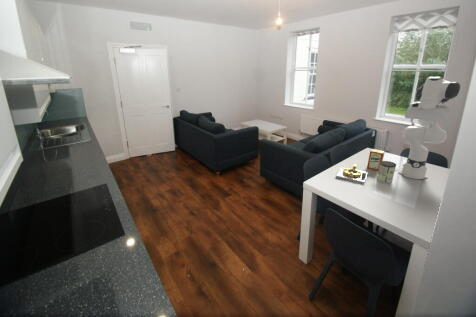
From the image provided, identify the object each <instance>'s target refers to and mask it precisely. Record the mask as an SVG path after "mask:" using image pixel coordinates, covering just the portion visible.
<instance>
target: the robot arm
mask: <svg viewBox="0 0 476 317" xmlns="http://www.w3.org/2000/svg"><path fill="white" fill-rule="evenodd" d="M460 91H461V84H460V83H459V82H457V81H448V80H446V79H445V78H444V77H441V76H429V77H427V78H426V80H425V82H424V83H423V84H422V85H421V86H420V87H419V88H417V89H416V91H415V93H414V98H415V101H413V102H410V104H409V107H408V108H407V110H406V112H405V114H404V118H405V119H410V123H411V125H410V126H407V127H405V128H404V130H403V132H402V137H403V138H404V140H406V142H408V145H409V154H408V157H407V158H406V162H405V163H402V167H401V168H400V169H399V170H398V174H399V175H402V176H404V177H405V178H409V179H414V180H422V179H428V178H429V177H428V175H427V170H428V167H427V166H426V165H427V161H428V160H427V159H428V156H429V149H428V148H427V147H426V146H424V145H423V144H422V143H426V144H427V143H428V144H442V143H444V142H445V141H446V140H447V137H448V133H447V132H446V130H445V129H443V128H442V127H441V126H440V125H439V124H438V122H444V121H445V120H446V117H447V114H448V112H449V110H450V108H449V106H447V105H443V104H445V103H448V101H450V100H453V99H455V98H456V97H458V95H459V94H460ZM440 104H441V105H440ZM414 120H417V122H418V124H419V125H420V126H417V125H416V126H415V124H416V122H414Z"/></svg>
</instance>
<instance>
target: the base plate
mask: <svg viewBox="0 0 476 317" xmlns="http://www.w3.org/2000/svg"><path fill="white" fill-rule="evenodd" d="M345 168H346V167H343V166H341V167H340V169H339V170H338V172H337V174H336V175H335V179H338V180H344V181H349V182H353V183H357V184H362V185H364V184H365V183H366V181H367V180H366V179H367V176H368V175H369V172H368V171H365V170H364V171H363V170H361V171H362V175H361V176H360V177H351V176H348V175H345V174H344V173H343V170H344V169H345ZM349 172H353V173H356V170H354V169H350V170H349Z"/></svg>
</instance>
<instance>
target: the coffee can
mask: <svg viewBox="0 0 476 317" xmlns="http://www.w3.org/2000/svg"><path fill="white" fill-rule="evenodd" d="M396 167H397V163H395V162H393V161H388V160H383V161H381V162H380V166H379V171H377V176H376V177H377V178H376V180H377V181H378V182H380V183H384V184H392V183H393V180H394V175H395V171H396Z"/></svg>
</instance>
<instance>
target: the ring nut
mask: <svg viewBox="0 0 476 317" xmlns="http://www.w3.org/2000/svg"><path fill="white" fill-rule="evenodd" d="M357 166H358V164H356V163H354V164H353V166H352V167H344V168H345V169H344V170H343V173H344V174H345V175H348V176H351V177H360V176H361V175H362V171H363V170H360V169H358V168H357ZM350 169H354V170H356V173H353V172H349V170H350Z"/></svg>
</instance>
